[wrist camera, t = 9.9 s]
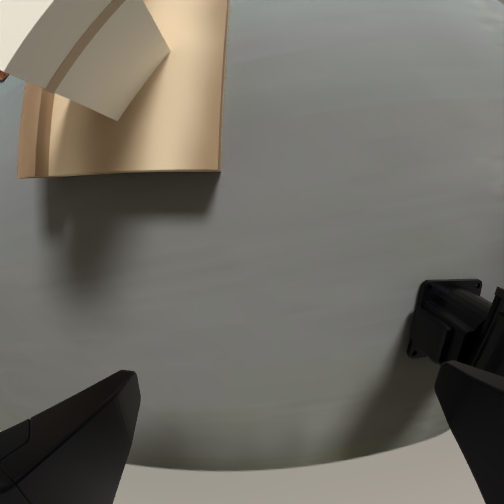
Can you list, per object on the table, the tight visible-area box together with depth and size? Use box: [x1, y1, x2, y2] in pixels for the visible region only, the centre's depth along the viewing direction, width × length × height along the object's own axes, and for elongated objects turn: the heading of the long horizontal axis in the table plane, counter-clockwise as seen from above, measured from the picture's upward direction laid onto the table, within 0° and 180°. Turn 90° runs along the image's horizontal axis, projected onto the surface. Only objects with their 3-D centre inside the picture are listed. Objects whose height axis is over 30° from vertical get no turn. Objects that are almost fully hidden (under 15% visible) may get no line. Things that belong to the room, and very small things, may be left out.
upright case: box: [0, 0, 170, 121], centre depth 10 cm, size 4×5×10 cm
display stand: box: [17, 0, 230, 178], centre depth 15 cm, size 12×12×4 cm
